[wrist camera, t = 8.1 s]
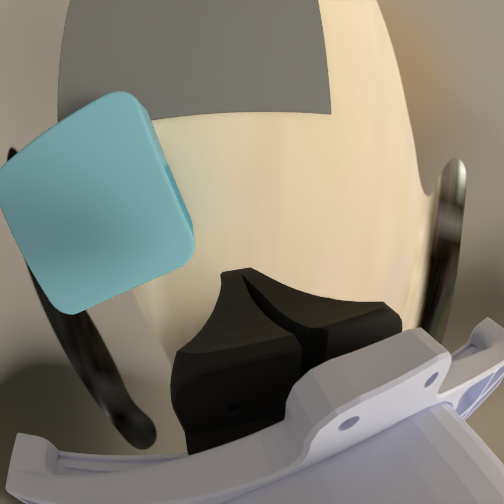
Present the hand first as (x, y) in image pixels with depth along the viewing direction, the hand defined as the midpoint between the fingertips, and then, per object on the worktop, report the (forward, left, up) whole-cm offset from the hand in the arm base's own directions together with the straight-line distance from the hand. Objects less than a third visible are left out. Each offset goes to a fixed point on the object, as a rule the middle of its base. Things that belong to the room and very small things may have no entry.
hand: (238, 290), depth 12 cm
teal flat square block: (+5, +3, -8) cm, 10 cm away
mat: (+16, +1, -10) cm, 19 cm away
